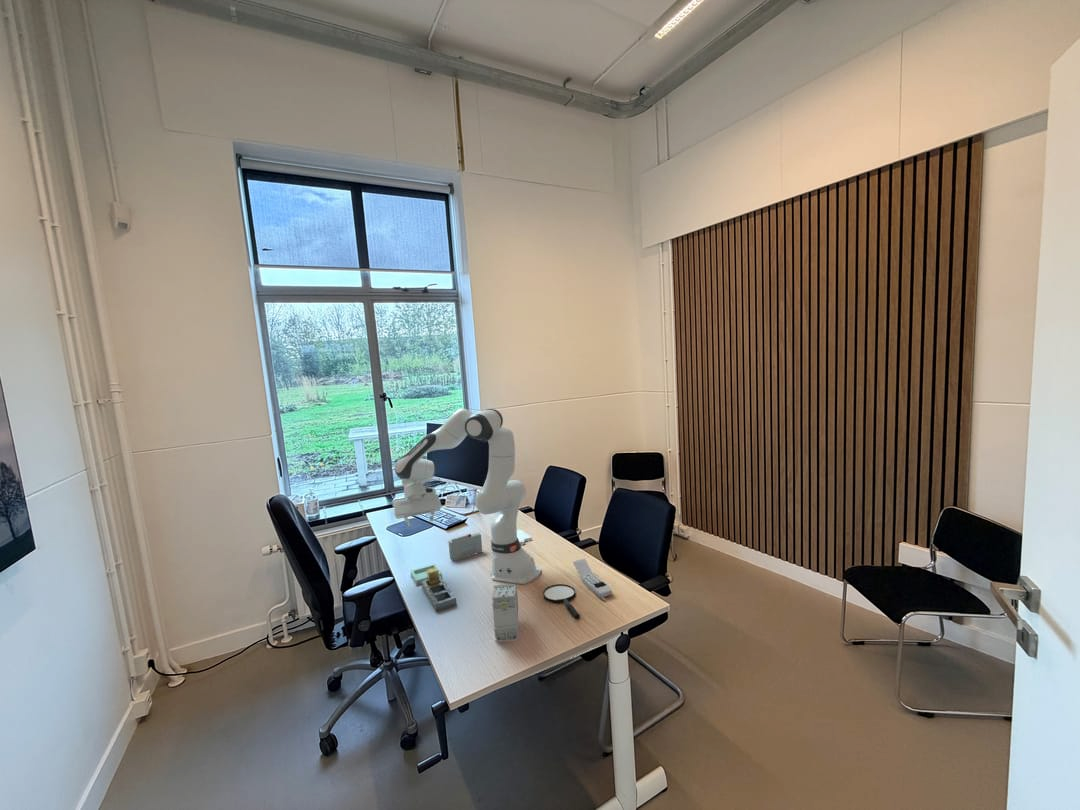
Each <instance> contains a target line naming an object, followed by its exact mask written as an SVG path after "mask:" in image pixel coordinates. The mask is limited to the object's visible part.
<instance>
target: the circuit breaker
mask: <svg viewBox="0 0 1080 810" xmlns="http://www.w3.org/2000/svg"><path fill="white" fill-rule="evenodd" d="M516 584H517V583H509V584H507V583H506V584H496V585H493V587H492V594H491V596H492V597H491V599H492V600H491V602H492V603H491V604H492V611H493V625H494V626H493V628H494V638H495V640H494V642H495V643H497V642H509V641H518V640H519V628H520V625H519V623H520V622H519V603H518V602H519V600H518V590H517V587H516V586H517V585H516Z"/></svg>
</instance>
